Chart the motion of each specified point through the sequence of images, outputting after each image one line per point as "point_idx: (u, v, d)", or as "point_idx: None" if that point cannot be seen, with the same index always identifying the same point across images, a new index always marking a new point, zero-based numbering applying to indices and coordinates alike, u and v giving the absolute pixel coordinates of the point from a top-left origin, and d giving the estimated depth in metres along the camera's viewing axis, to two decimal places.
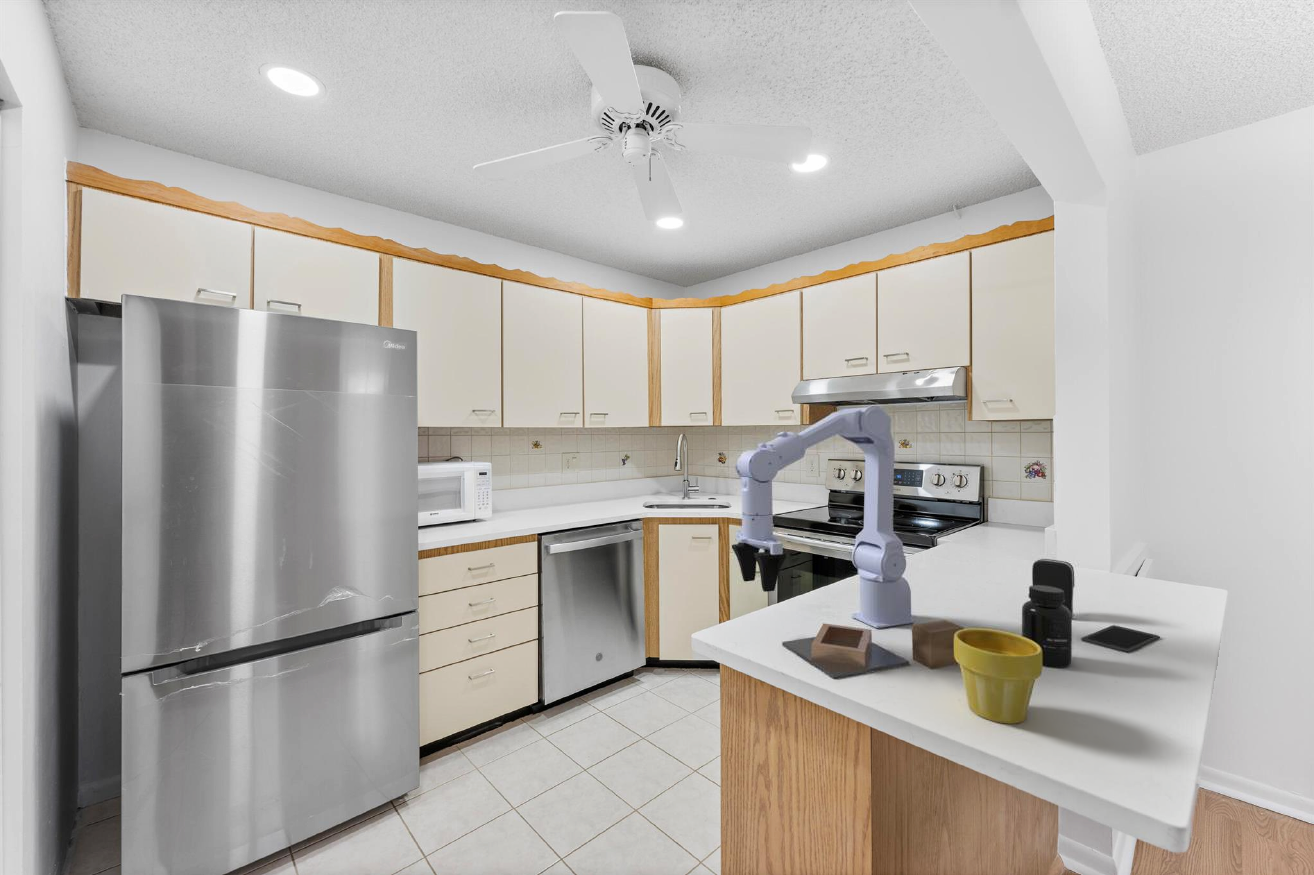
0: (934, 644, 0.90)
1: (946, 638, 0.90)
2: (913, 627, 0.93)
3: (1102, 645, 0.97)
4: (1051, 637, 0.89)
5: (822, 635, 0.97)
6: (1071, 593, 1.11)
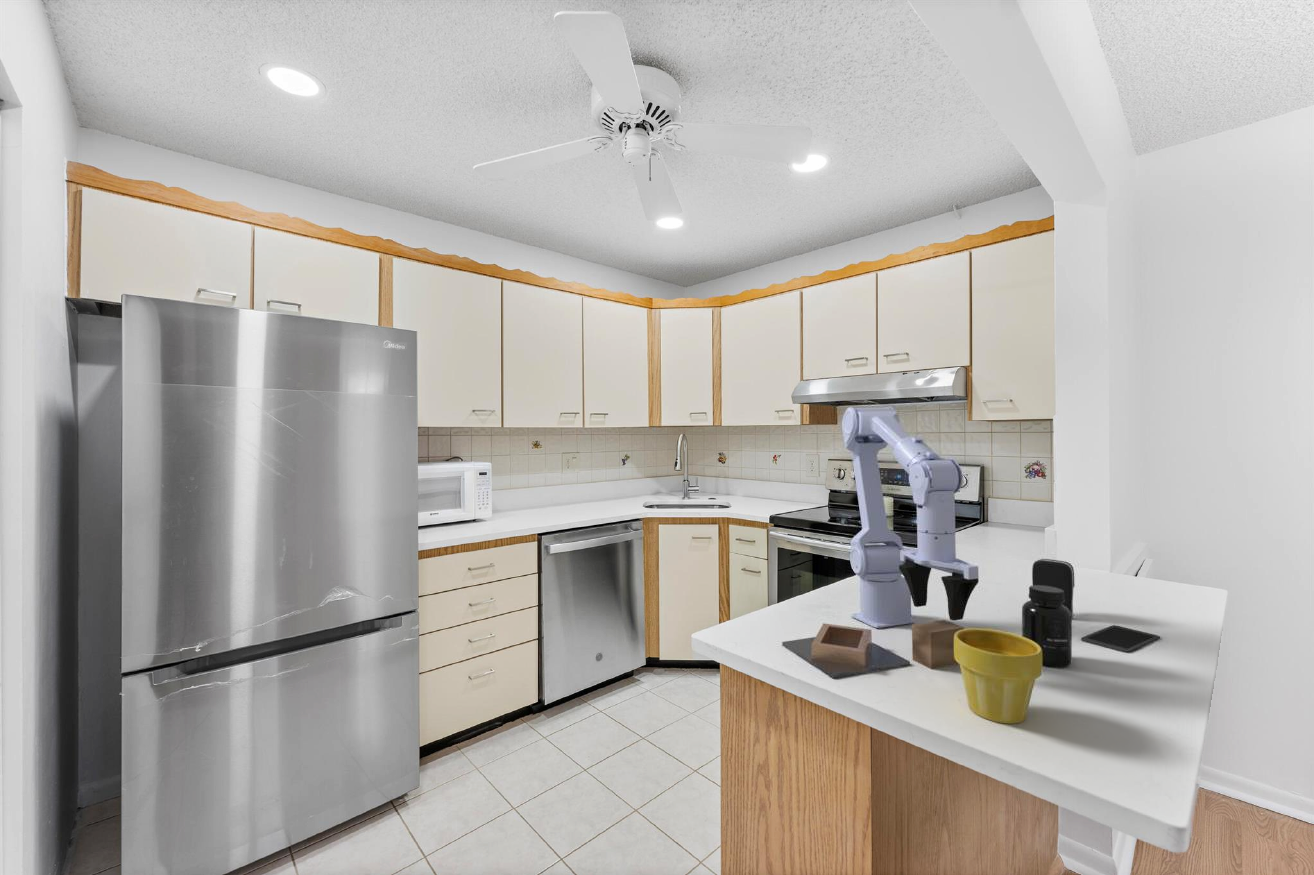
0: (934, 644, 0.90)
1: (946, 638, 0.90)
2: (913, 627, 0.93)
3: (1102, 645, 0.98)
4: (1051, 637, 0.89)
5: (822, 635, 0.97)
6: (1071, 593, 1.11)
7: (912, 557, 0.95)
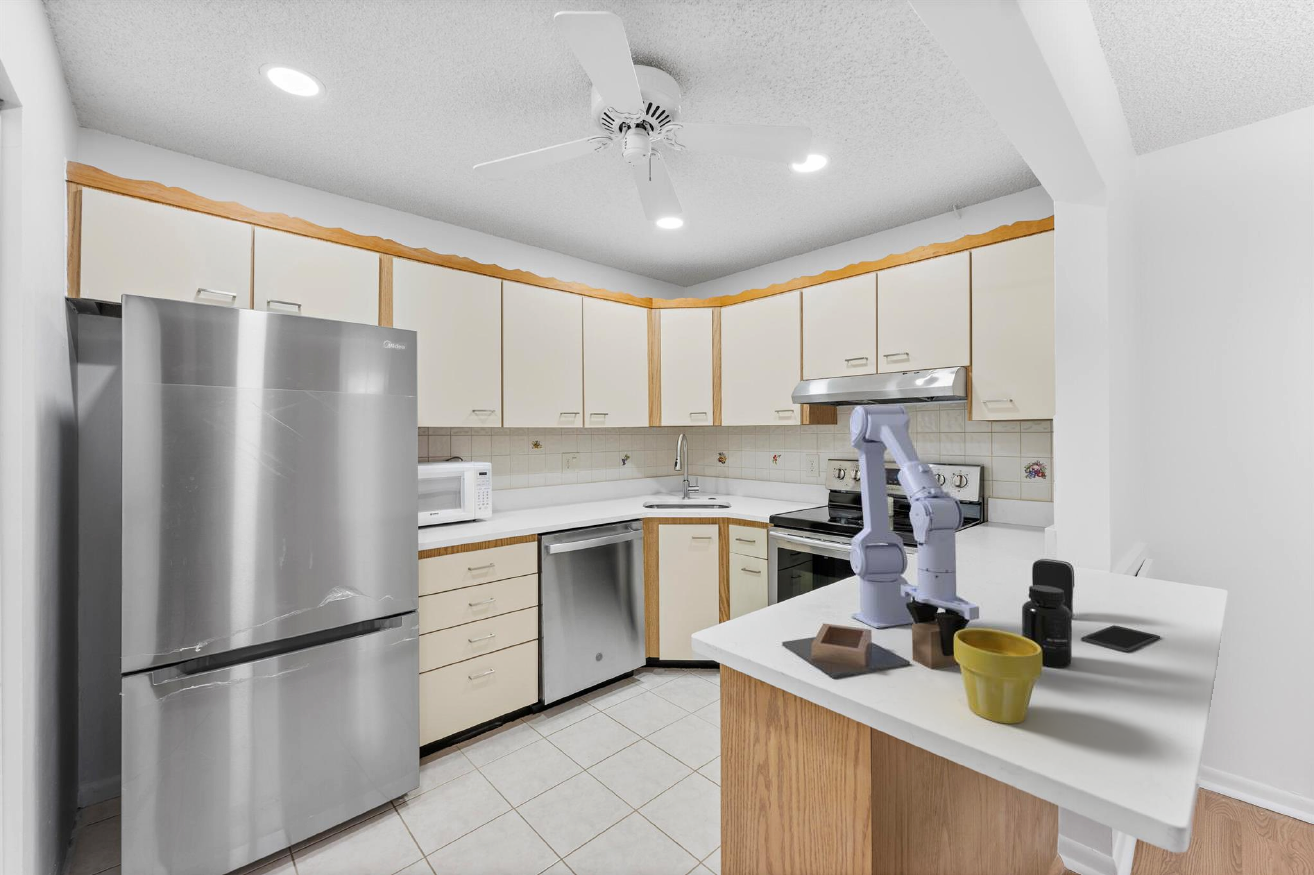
0: (934, 643, 0.90)
1: None
2: (913, 626, 0.93)
3: (1101, 645, 0.98)
4: (1051, 637, 0.89)
5: (822, 635, 0.97)
6: (1071, 593, 1.11)
7: (913, 594, 0.95)
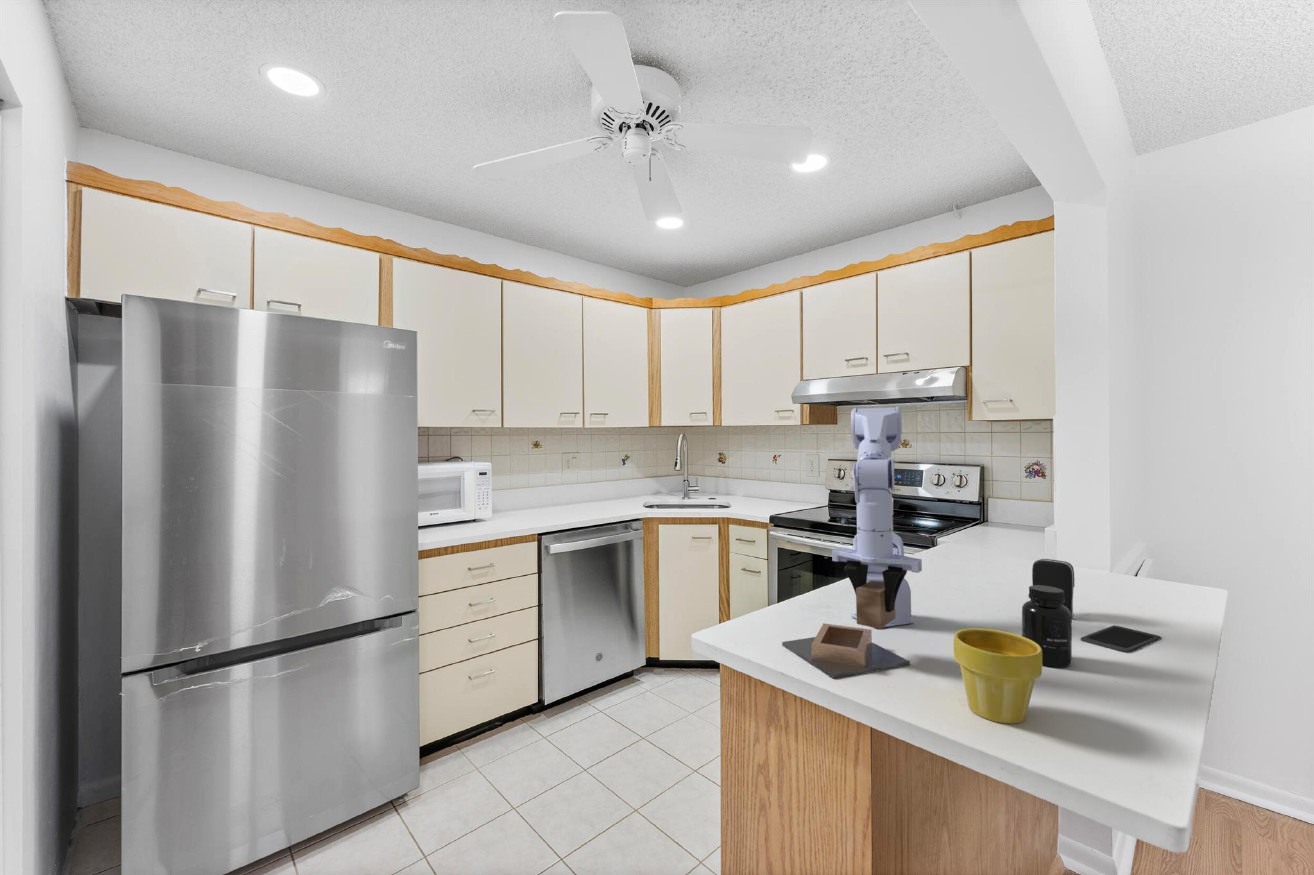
0: (881, 603, 0.91)
1: None
2: (857, 590, 0.93)
3: (1101, 645, 0.98)
4: (1051, 637, 0.89)
5: (822, 635, 0.97)
6: (1071, 593, 1.11)
7: (852, 556, 0.95)
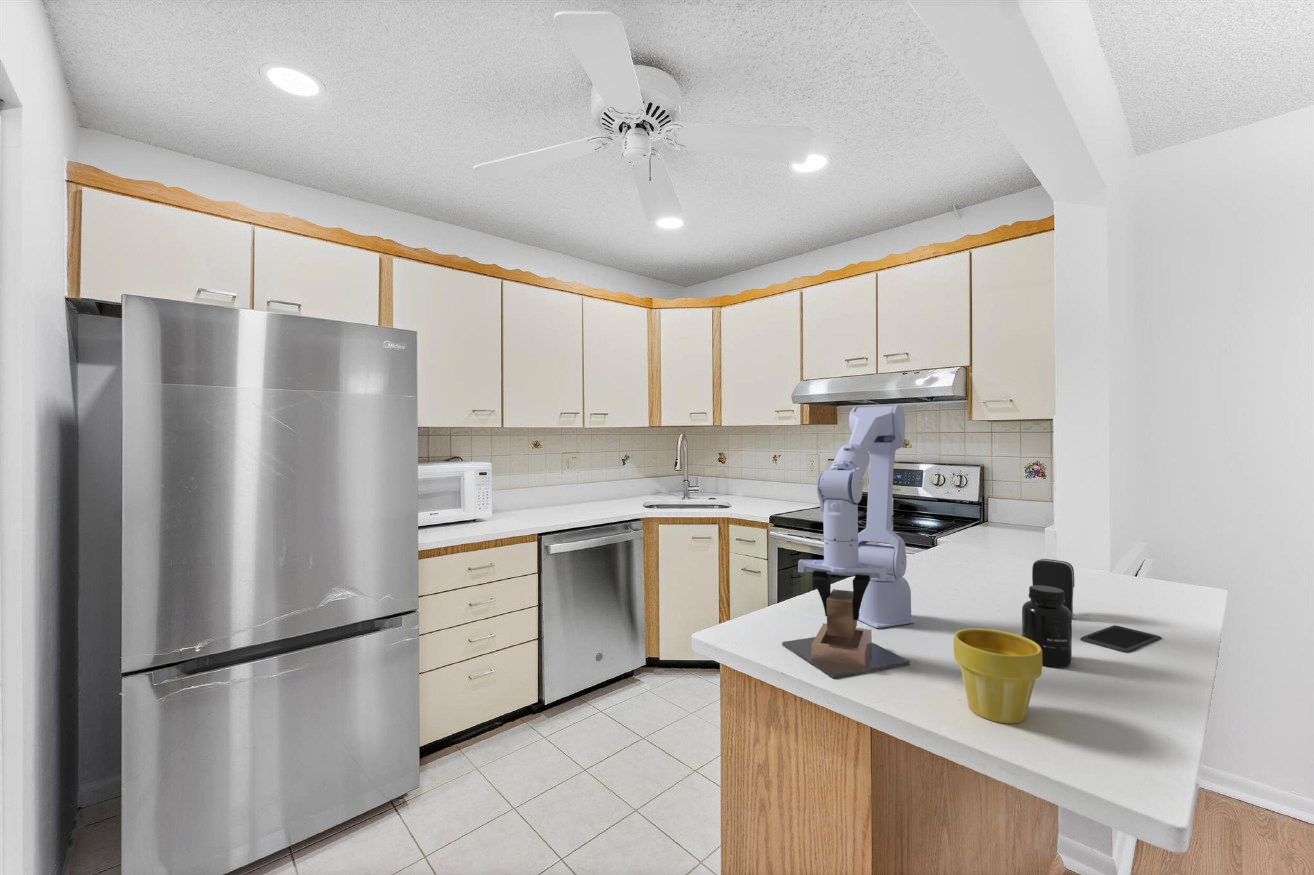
0: (852, 612, 0.93)
1: (853, 605, 0.95)
2: (828, 601, 0.94)
3: (1101, 645, 0.98)
4: (1051, 637, 0.89)
5: (822, 635, 0.97)
6: (1071, 593, 1.11)
7: (821, 567, 0.95)
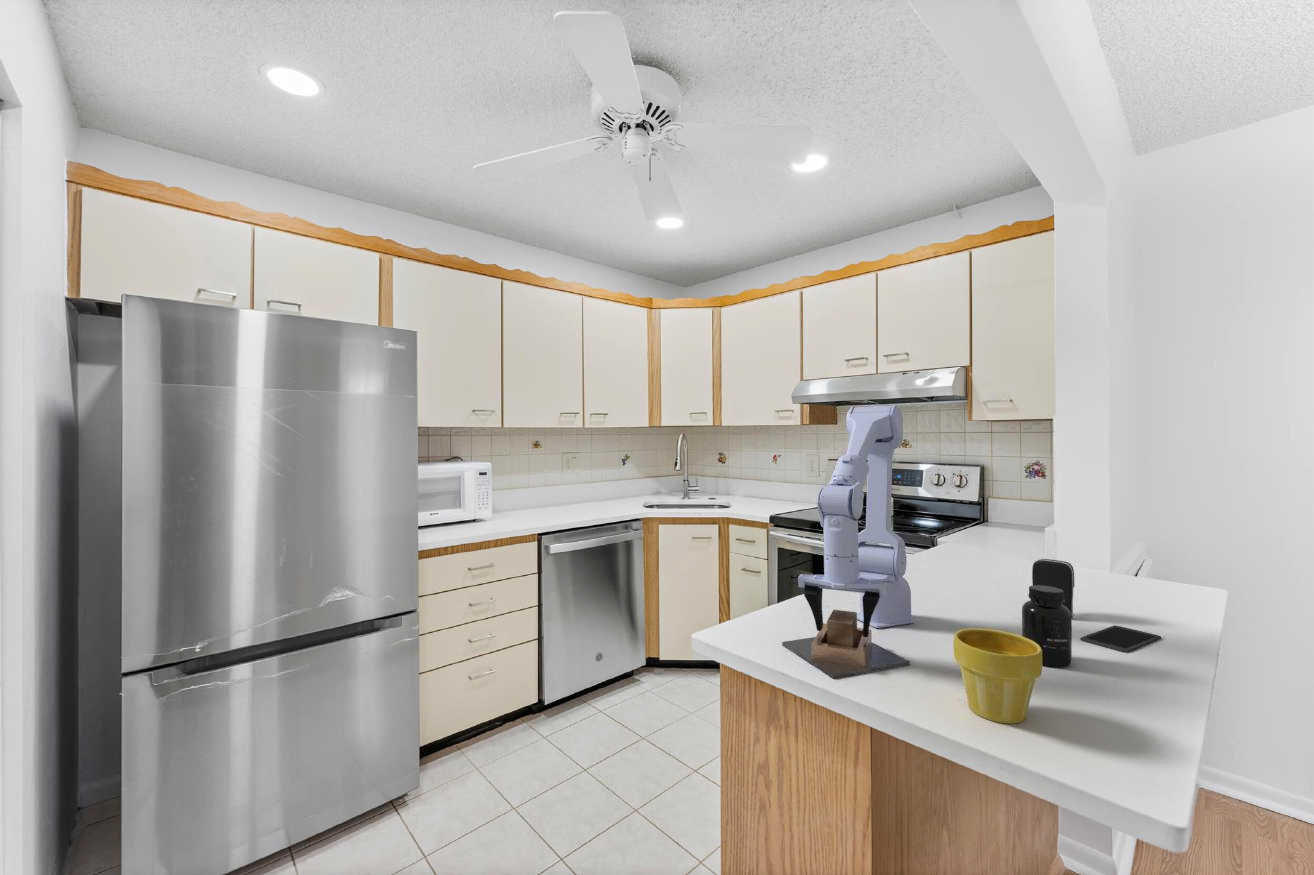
0: (852, 634, 0.93)
1: (854, 626, 0.95)
2: (828, 623, 0.94)
3: (1101, 645, 0.98)
4: (1051, 637, 0.89)
5: (822, 635, 0.97)
6: (1071, 593, 1.11)
7: (821, 582, 0.95)
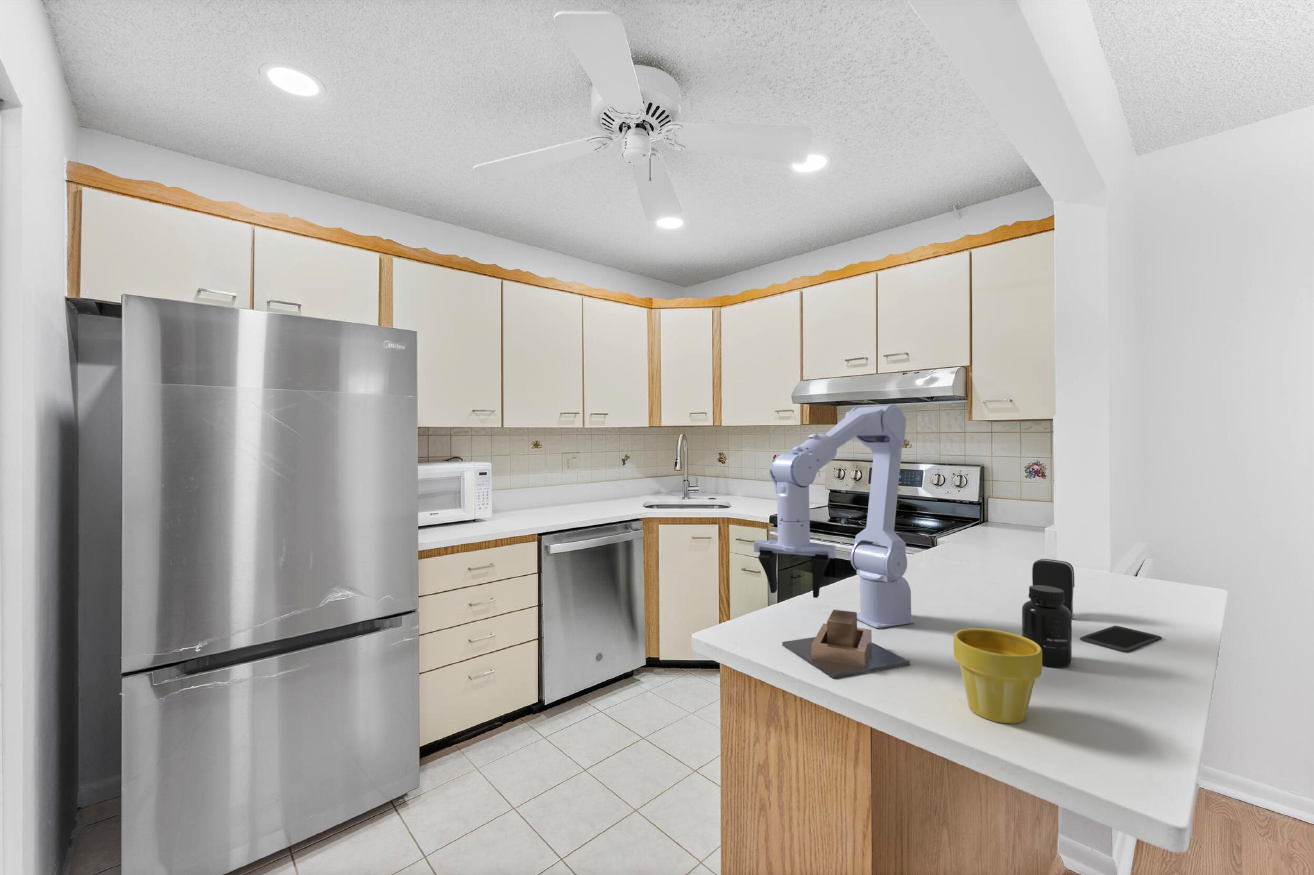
0: (852, 634, 0.93)
1: (854, 626, 0.95)
2: (828, 623, 0.94)
3: (1100, 644, 0.98)
4: (1051, 637, 0.89)
5: (822, 635, 0.97)
6: (1071, 593, 1.11)
7: (774, 546, 1.00)
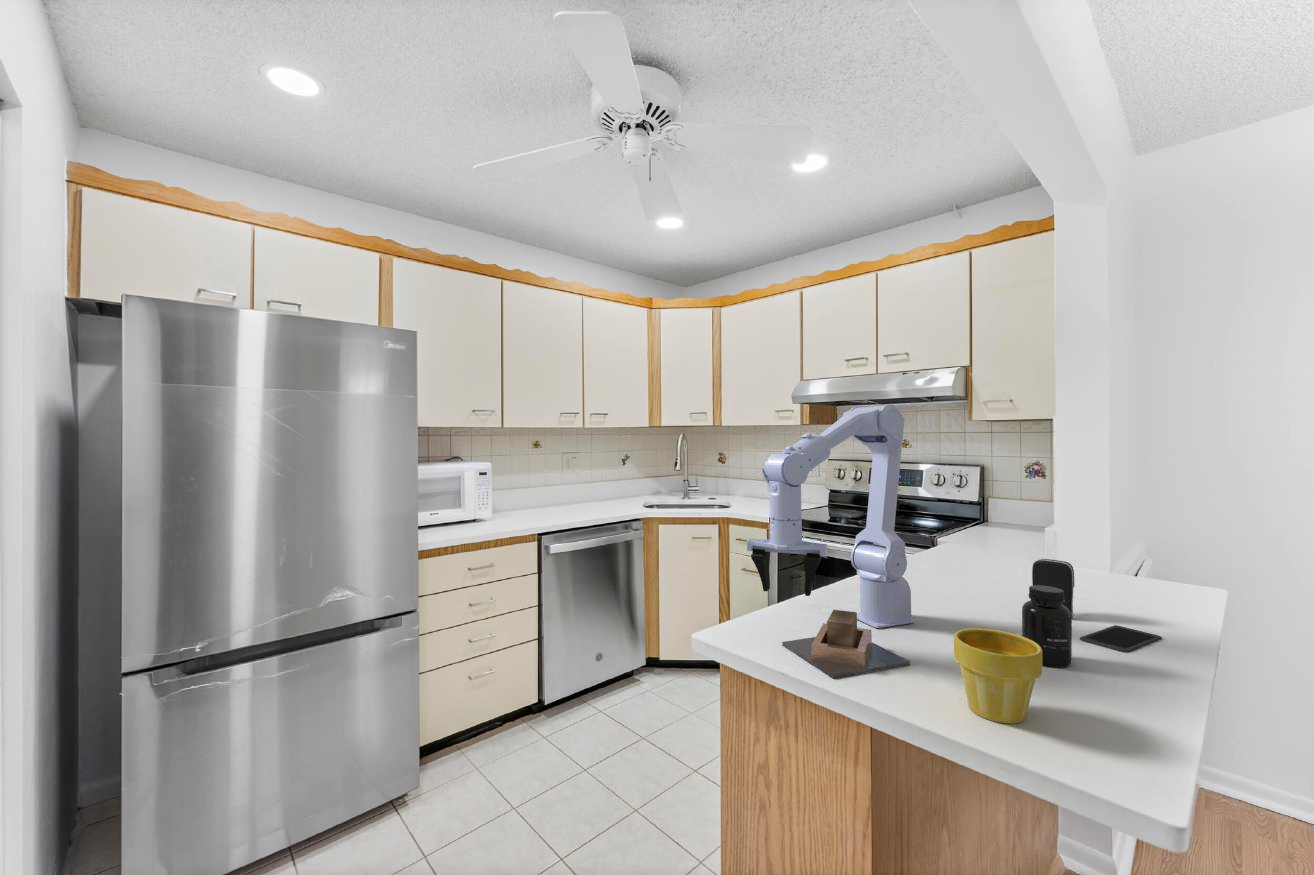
0: (852, 634, 0.93)
1: (854, 626, 0.95)
2: (828, 623, 0.94)
3: (1100, 645, 0.98)
4: (1051, 637, 0.89)
5: (822, 635, 0.97)
6: (1071, 593, 1.11)
7: (766, 545, 1.01)
